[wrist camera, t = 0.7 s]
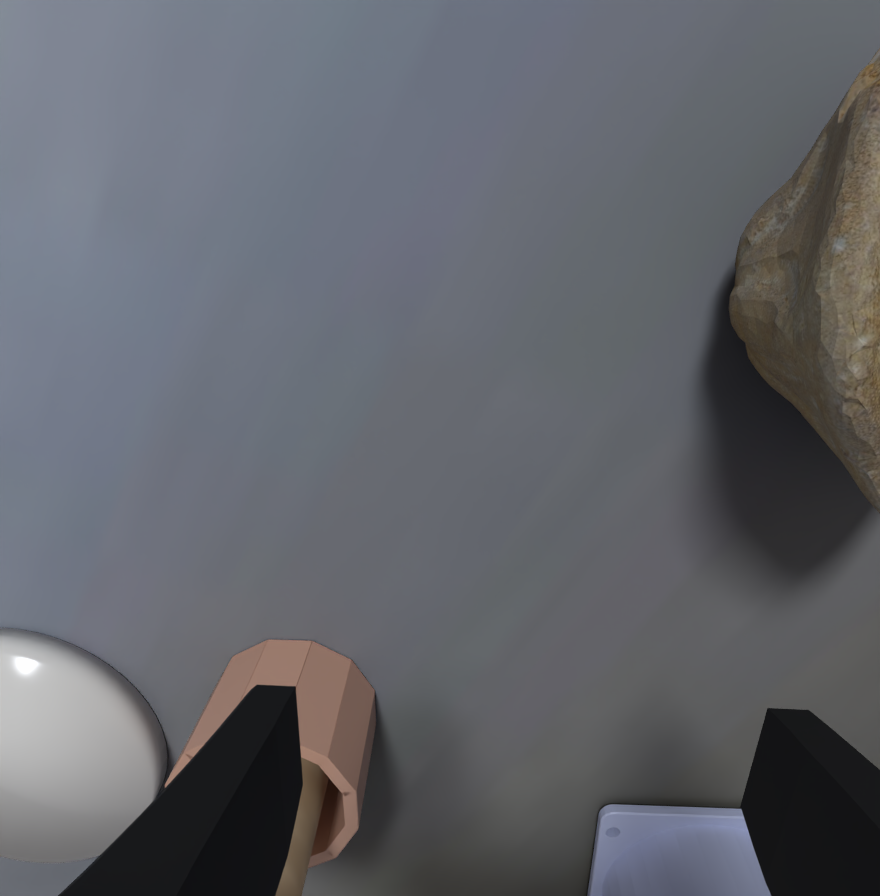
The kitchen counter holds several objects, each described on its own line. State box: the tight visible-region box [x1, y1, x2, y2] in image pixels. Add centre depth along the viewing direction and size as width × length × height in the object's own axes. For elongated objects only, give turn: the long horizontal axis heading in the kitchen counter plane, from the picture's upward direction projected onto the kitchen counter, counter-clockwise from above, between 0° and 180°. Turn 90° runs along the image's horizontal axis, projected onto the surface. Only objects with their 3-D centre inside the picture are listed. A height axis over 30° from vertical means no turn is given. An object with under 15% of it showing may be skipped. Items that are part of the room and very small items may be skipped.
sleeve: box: [165, 640, 376, 868], centre depth 20 cm, size 6×6×4 cm
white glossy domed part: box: [0, 627, 168, 863], centre depth 22 cm, size 10×10×1 cm
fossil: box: [729, 48, 880, 513], centre depth 14 cm, size 9×4×10 cm
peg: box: [275, 757, 329, 896], centre depth 19 cm, size 3×3×6 cm
